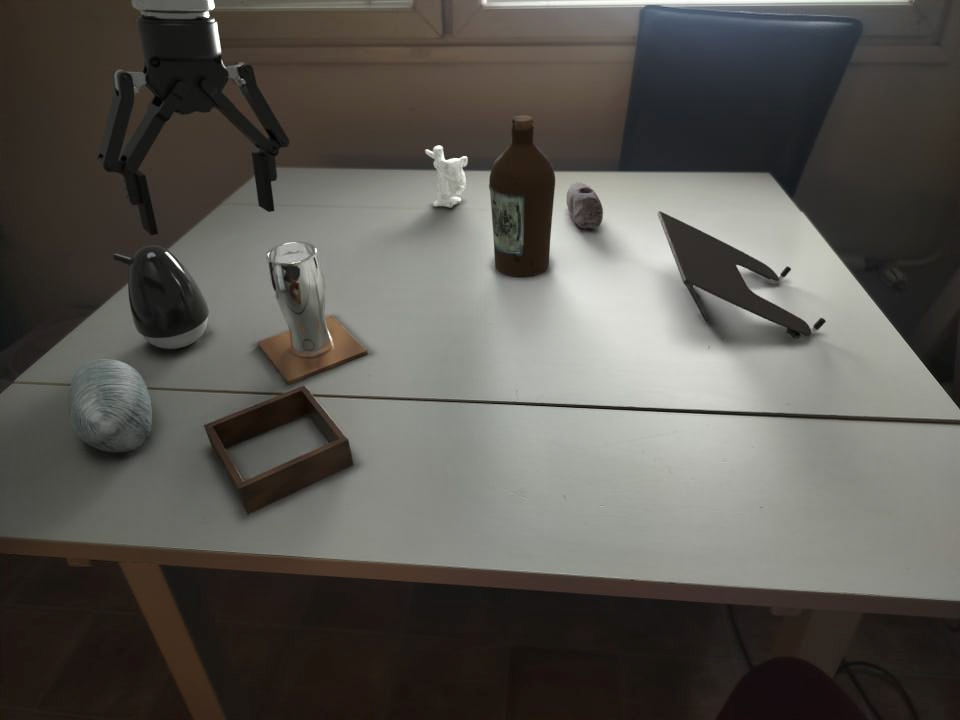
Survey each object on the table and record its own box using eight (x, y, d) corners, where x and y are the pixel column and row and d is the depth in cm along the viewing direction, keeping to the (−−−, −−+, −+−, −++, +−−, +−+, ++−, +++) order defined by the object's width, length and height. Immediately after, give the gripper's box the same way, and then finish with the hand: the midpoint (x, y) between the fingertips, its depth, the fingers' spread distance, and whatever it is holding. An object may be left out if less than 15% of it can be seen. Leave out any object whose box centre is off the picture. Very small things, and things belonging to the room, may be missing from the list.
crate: (247, 514, 71) (238, 488, 69) (212, 449, 80) (203, 424, 78) (353, 465, 77) (348, 439, 75) (310, 409, 86) (304, 384, 83)
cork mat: (288, 384, 90) (287, 381, 90) (257, 345, 98) (257, 341, 98) (367, 353, 96) (367, 350, 95) (332, 318, 104) (332, 315, 103)
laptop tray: (790, 381, 96) (836, 334, 91) (655, 320, 92) (694, 267, 87) (749, 300, 115) (784, 257, 110) (634, 246, 111) (666, 199, 105)
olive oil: (518, 245, 122) (518, 104, 108) (564, 262, 116) (571, 115, 102) (478, 266, 116) (473, 120, 102) (525, 285, 110) (526, 133, 96)
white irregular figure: (427, 210, 137) (422, 152, 130) (431, 197, 143) (427, 141, 136) (468, 210, 136) (465, 151, 129) (470, 197, 142) (468, 141, 135)
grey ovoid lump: (92, 409, 89) (29, 379, 80) (149, 362, 90) (92, 327, 81) (130, 481, 82) (65, 457, 73) (191, 429, 83) (134, 399, 74)
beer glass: (331, 359, 94) (312, 263, 85) (282, 360, 94) (257, 265, 85) (339, 331, 99) (322, 239, 91) (293, 333, 99) (271, 241, 91)
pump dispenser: (160, 321, 105) (127, 231, 96) (225, 320, 104) (198, 230, 95) (130, 358, 96) (91, 264, 88) (200, 358, 96) (168, 264, 87)
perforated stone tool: (559, 205, 137) (561, 172, 133) (585, 203, 137) (587, 170, 133) (576, 236, 125) (578, 200, 121) (603, 234, 125) (606, 198, 121)
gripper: (42, 20, 57) (105, 253, 68) (307, 15, 71) (323, 208, 82) (23, 12, 61) (84, 231, 73) (275, 9, 76) (294, 192, 87)
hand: (211, 219), depth 77 cm, fingers open, 13 cm apart
